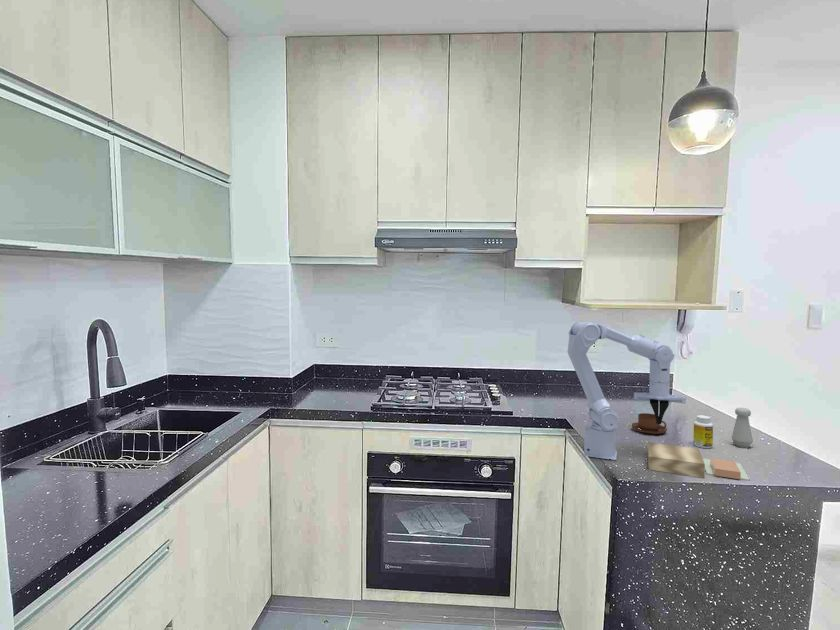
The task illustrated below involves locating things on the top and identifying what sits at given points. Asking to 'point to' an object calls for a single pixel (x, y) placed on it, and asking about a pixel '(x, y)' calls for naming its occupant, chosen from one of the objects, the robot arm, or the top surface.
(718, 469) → the terracotta tile
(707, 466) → the sage mat
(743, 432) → the salt shaker
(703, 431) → the supplement bottle
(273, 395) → the top surface
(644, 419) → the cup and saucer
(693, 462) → the oak board
